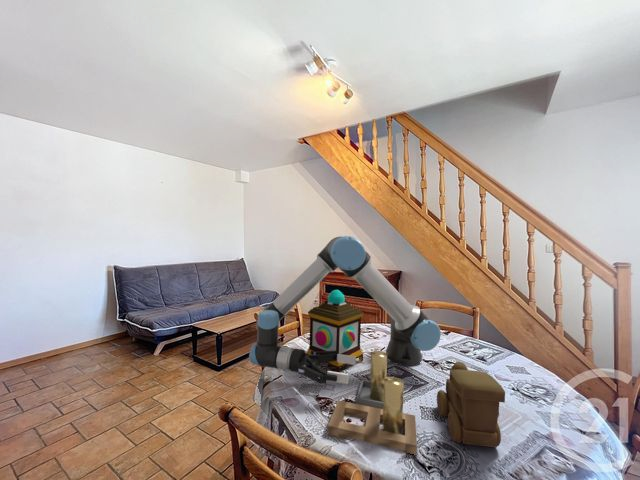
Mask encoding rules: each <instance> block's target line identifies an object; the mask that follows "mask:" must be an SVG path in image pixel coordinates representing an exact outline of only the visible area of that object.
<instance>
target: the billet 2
mask: <svg viewBox="0 0 640 480" xmlns="http://www.w3.org/2000/svg"><path fill="white" fill-rule="evenodd" d="M404 383H405V382H404V380H402V379H401V378H398V377H395V376H386V378H385V379H384V401H383V422H382V428H381V430H382V431H387V432H391V433H396V434H400V435H403V426H402V418H403V413H404V412H403V411H404V391H405V389H404V385H405V384H404Z"/></svg>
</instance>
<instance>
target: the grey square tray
mask: <svg viewBox="0 0 640 480" xmlns="http://www.w3.org/2000/svg"><path fill="white" fill-rule="evenodd" d="M355 401H356V402H355V404H359V405H364V406H369V407H374V408H380V409H383V402H380V401H374V400H372V399H371V398H370V380H367V379H361V382H360V385H359V388H358V391H357V396H356V400H355Z"/></svg>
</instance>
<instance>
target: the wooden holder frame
mask: <svg viewBox="0 0 640 480" xmlns="http://www.w3.org/2000/svg"><path fill="white" fill-rule="evenodd" d="M345 415H348V416H354V417H358V418H363V419H366V422H365V426H364V425H358V424H355V423H350V422H345V421H344V419H345ZM381 422H382V423H383V409H380V408H374V407H369V406H364V405H359V404H356V403H353V402H348V401H343V400H340V399H339V400H338V401H337V403H336V404H335V407H334V410H333V413H332V415H331V417H330V420H329V422H328V424H327V436H330V437H334V436H335V437H334V438H338V437H339V438H338V439H342V438H343V440H346V439H347V440H348V441H350V439H352V440H356V441H360V442H365V443H370V444H372V445H377V446H383V447H385V448H391V449H394V450H399V451H403V452H406V453H410V454H415V455H417V456H418V439H417V426H416V425H417V422H416V415H413V414H409V413H404V412H403V418H402V427H404V434H402V435H400V434H396V433H391V432H387V431H382V429H380V425H381ZM406 453H405V454H406ZM410 454H409V455H410Z"/></svg>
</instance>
